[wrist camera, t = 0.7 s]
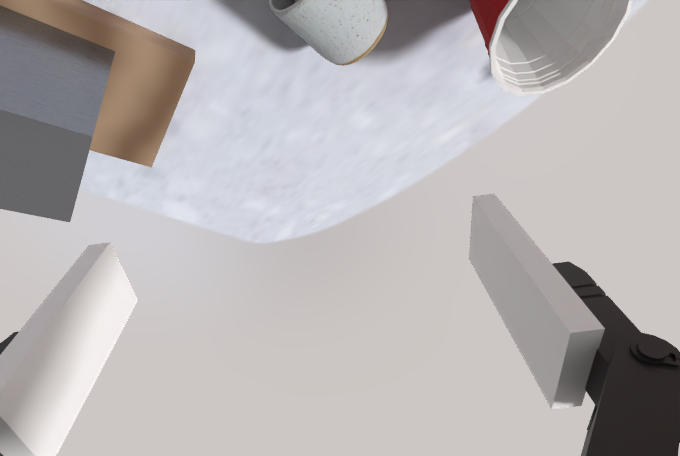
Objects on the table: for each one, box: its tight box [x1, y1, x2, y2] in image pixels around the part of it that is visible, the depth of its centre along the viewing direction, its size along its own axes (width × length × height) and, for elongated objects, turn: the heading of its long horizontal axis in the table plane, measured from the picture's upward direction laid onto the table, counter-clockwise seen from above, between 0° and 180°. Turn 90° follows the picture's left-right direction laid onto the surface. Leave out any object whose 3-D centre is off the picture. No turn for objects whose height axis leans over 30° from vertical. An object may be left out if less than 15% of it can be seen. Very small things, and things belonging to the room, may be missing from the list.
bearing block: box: [0, 5, 115, 222], centre depth 33 cm, size 10×10×11 cm
